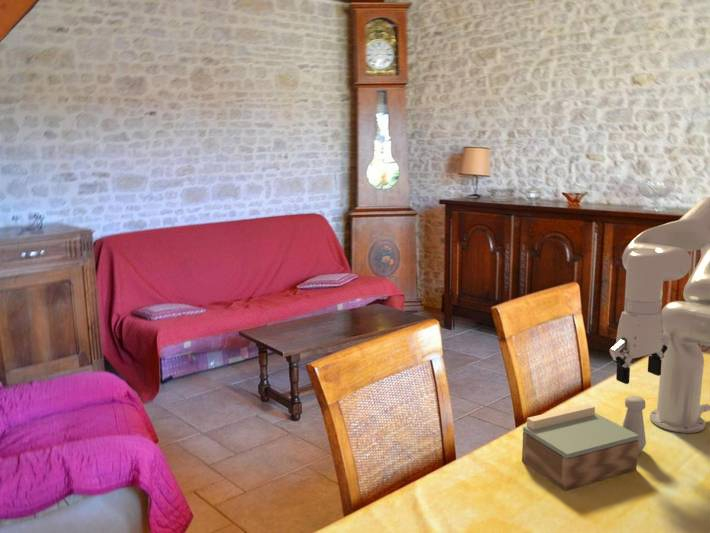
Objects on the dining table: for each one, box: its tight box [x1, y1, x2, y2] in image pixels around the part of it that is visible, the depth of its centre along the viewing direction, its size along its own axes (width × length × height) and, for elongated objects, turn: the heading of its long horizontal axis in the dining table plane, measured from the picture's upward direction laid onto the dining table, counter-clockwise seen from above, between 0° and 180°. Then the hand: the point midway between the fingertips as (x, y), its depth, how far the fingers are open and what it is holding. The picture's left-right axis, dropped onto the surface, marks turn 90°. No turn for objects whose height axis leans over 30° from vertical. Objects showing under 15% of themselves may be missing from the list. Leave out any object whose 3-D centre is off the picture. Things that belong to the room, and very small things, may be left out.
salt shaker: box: [621, 395, 647, 455], centre depth 148 cm, size 6×6×13 cm
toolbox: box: [521, 431, 639, 492], centre depth 142 cm, size 20×14×7 cm
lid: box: [522, 403, 639, 459], centre depth 141 cm, size 20×14×3 cm
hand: (638, 377), depth 146 cm, fingers open, 9 cm apart
